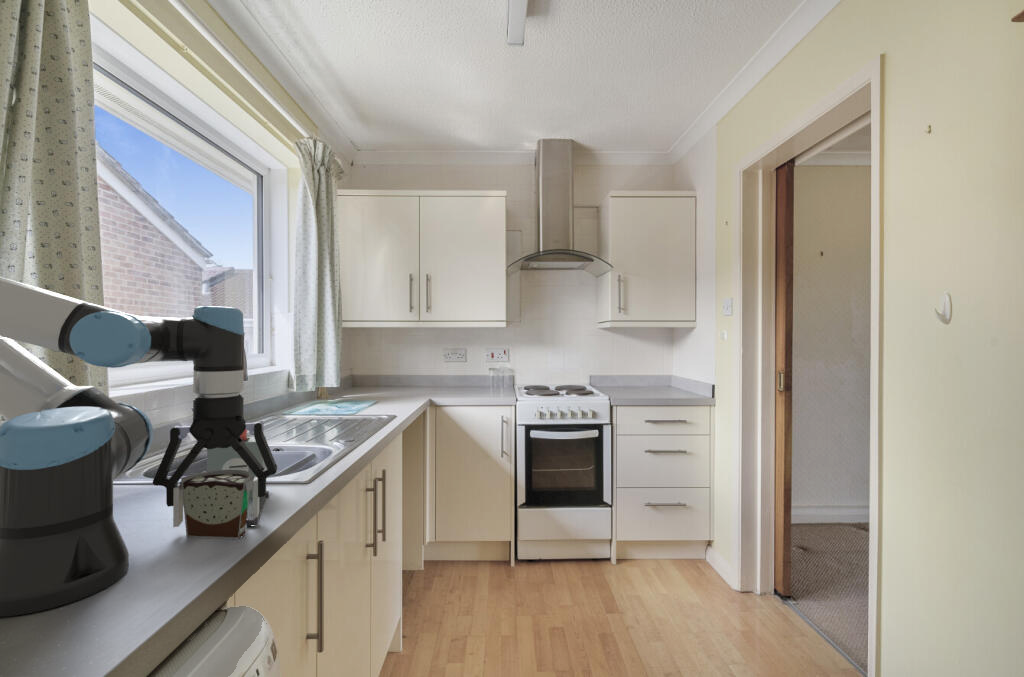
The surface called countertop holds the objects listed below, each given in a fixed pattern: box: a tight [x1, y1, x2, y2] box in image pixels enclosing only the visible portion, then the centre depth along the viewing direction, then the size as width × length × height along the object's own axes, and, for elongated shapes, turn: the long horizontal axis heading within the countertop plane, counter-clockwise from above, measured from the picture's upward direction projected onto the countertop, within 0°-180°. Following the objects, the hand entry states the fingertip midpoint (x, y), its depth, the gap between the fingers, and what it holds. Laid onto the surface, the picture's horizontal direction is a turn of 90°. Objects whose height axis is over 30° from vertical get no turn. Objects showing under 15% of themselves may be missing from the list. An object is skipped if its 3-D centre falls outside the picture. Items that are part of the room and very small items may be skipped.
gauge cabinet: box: [206, 435, 267, 500], centre depth 99 cm, size 10×6×12 cm, turn 111°
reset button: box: [240, 429, 248, 441], centre depth 100 cm, size 3×3×2 cm
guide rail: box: [246, 490, 270, 526], centre depth 92 cm, size 2×17×1 cm, turn 22°
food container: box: [178, 470, 254, 540], centre depth 82 cm, size 12×6×10 cm, turn 86°
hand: (218, 519), depth 82 cm, fingers closed on food container, 11 cm apart
